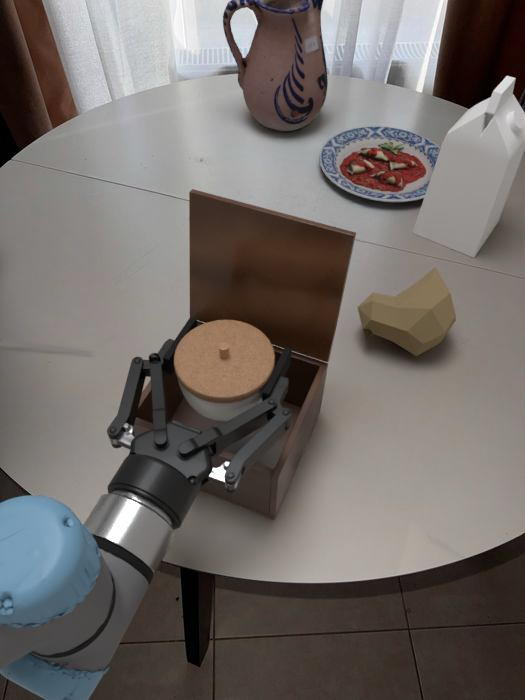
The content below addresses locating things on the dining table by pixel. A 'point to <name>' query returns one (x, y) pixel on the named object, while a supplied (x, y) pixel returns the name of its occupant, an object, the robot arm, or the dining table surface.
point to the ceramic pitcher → (282, 61)
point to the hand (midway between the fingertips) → (240, 340)
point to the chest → (280, 460)
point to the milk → (474, 173)
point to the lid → (267, 271)
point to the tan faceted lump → (411, 314)
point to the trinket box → (223, 368)
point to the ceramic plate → (380, 163)
